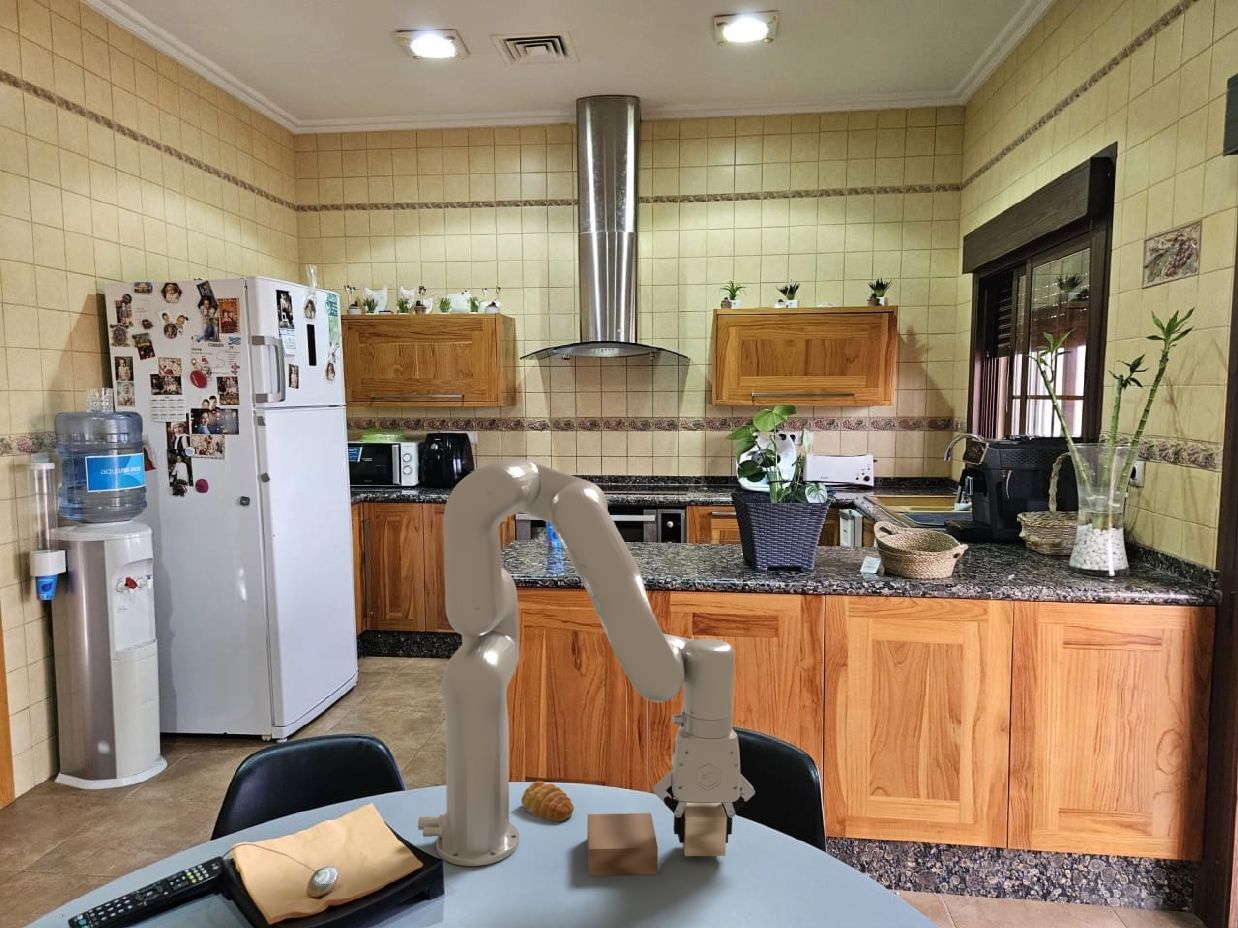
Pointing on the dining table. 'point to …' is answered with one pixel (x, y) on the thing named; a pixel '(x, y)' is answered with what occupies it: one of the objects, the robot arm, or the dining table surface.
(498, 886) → the dining table surface
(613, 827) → the walnut base
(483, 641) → the robot arm
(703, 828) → the maple cube
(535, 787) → the pastry
